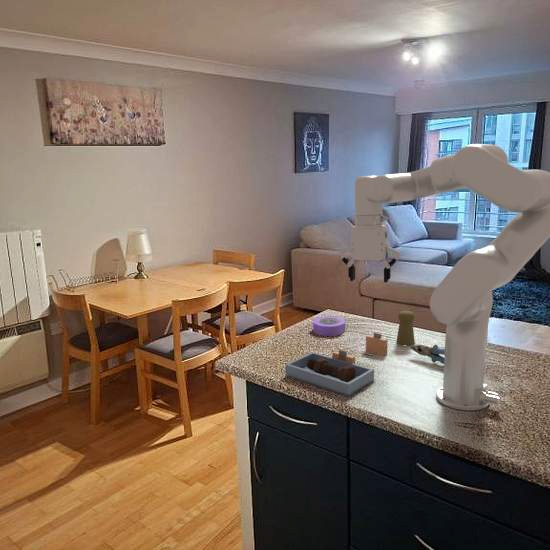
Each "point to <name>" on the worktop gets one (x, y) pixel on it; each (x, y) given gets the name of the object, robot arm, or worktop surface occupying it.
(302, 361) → the tray
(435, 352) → the pliers
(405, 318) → the cork
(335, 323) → the masking tape
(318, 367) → the bolt
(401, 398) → the worktop surface
